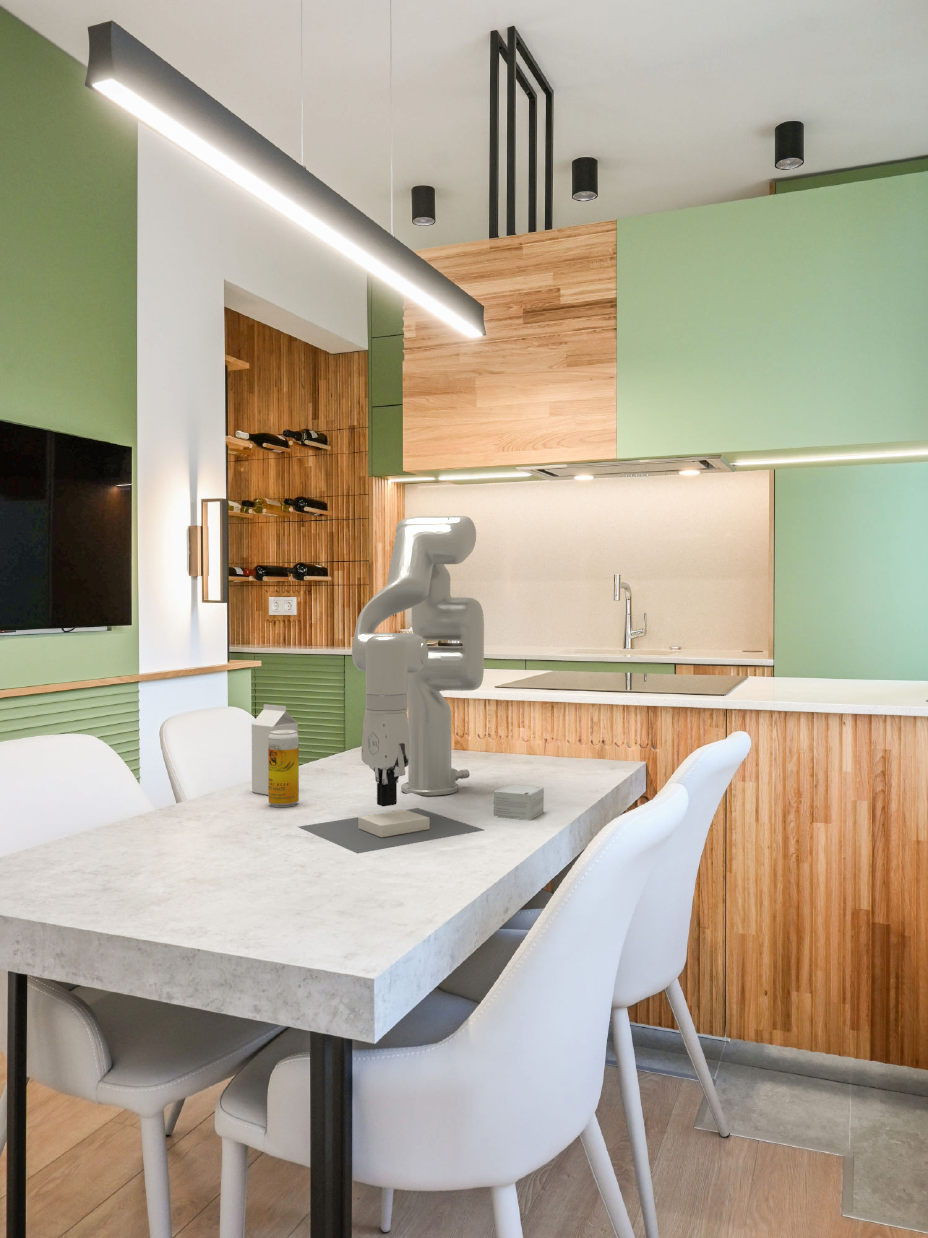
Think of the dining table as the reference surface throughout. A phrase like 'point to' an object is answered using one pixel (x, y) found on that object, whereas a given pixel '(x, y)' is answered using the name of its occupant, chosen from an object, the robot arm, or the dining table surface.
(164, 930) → the dining table surface
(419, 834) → the mat
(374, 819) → the tile
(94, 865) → the dining table surface
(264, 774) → the milk carton
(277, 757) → the beer can
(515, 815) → the small box
